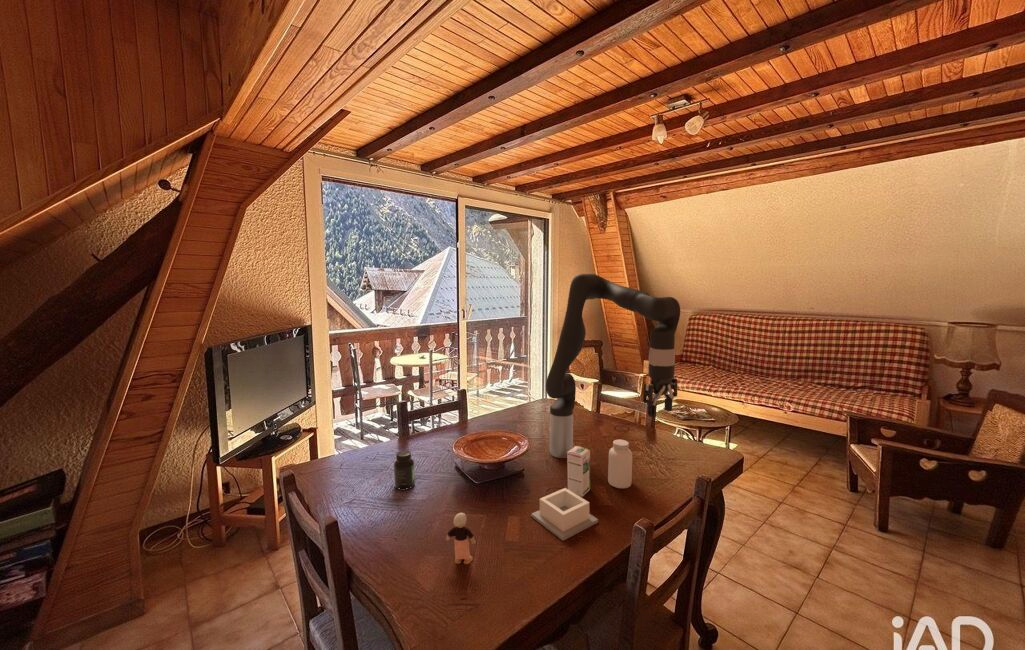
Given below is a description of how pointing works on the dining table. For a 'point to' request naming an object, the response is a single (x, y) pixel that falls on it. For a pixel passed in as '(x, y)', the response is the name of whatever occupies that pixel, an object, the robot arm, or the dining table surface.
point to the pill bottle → (620, 465)
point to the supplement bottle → (404, 470)
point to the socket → (564, 514)
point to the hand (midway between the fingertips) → (660, 413)
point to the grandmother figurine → (461, 539)
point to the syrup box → (578, 470)
